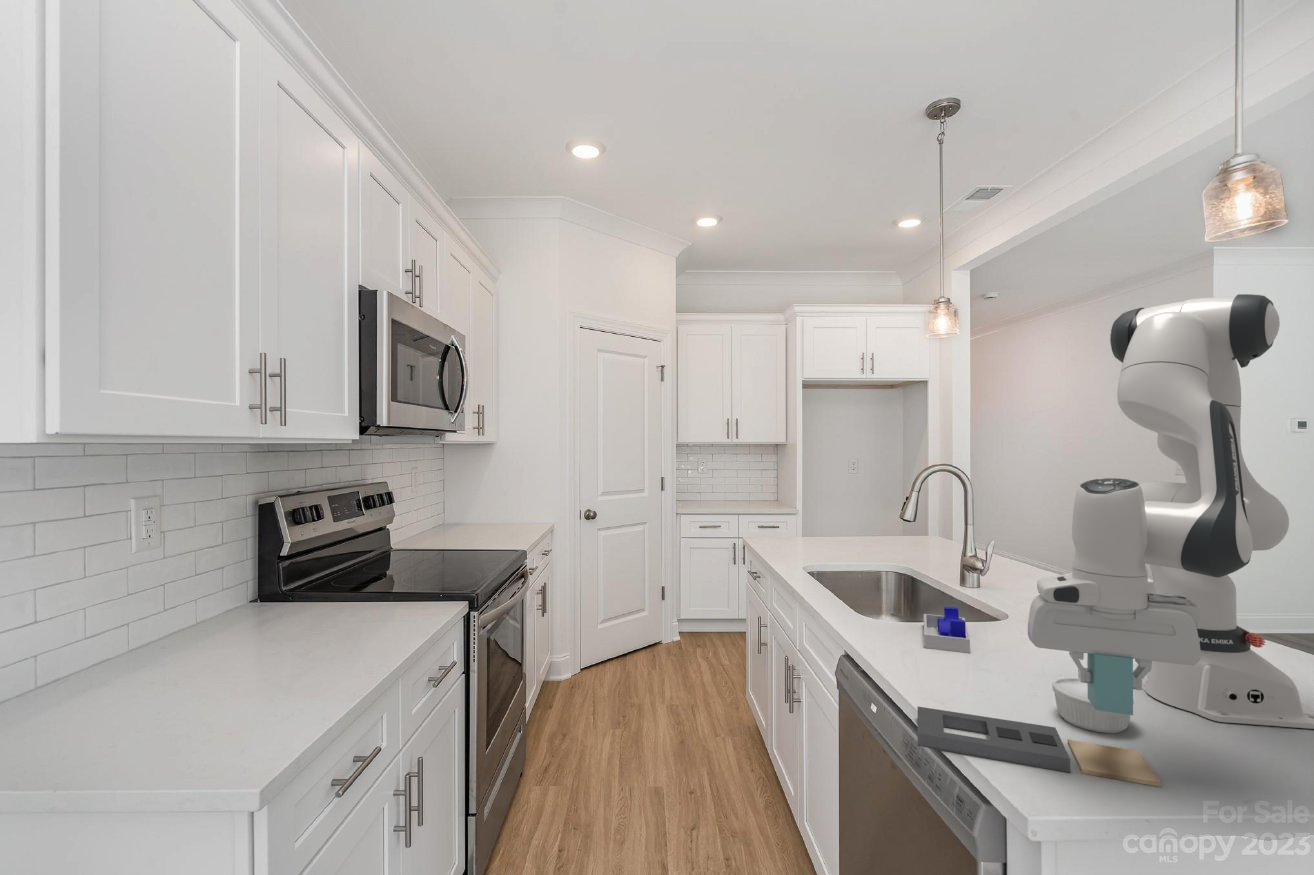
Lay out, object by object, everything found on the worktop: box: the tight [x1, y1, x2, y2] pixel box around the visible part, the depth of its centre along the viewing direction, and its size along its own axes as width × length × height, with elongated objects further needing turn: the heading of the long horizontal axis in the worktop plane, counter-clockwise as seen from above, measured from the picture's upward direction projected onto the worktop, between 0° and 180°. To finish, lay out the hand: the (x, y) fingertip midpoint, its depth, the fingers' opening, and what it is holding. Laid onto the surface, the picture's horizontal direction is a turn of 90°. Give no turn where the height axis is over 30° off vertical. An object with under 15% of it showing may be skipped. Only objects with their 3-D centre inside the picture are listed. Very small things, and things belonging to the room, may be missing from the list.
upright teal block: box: [1086, 653, 1134, 716], centre depth 88 cm, size 4×4×8 cm
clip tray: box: [923, 613, 971, 654], centre depth 143 cm, size 9×17×3 cm, turn 156°
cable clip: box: [937, 606, 966, 638], centre depth 143 cm, size 12×4×6 cm, turn 161°
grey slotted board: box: [917, 706, 1071, 774], centre depth 94 cm, size 20×10×2 cm, turn 67°
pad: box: [1066, 739, 1162, 788], centre depth 88 cm, size 9×9×1 cm
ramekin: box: [1051, 677, 1135, 734], centre depth 101 cm, size 11×11×5 cm
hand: (1109, 684), depth 88 cm, fingers closed on upright teal block, 4 cm apart
